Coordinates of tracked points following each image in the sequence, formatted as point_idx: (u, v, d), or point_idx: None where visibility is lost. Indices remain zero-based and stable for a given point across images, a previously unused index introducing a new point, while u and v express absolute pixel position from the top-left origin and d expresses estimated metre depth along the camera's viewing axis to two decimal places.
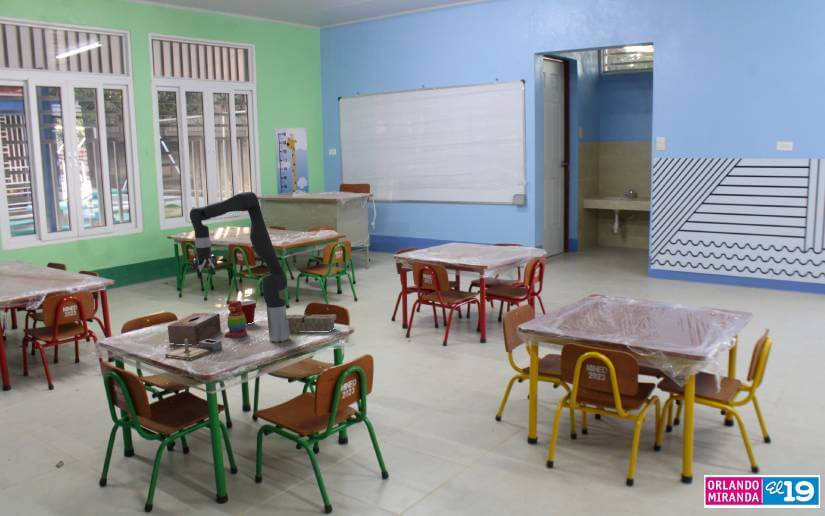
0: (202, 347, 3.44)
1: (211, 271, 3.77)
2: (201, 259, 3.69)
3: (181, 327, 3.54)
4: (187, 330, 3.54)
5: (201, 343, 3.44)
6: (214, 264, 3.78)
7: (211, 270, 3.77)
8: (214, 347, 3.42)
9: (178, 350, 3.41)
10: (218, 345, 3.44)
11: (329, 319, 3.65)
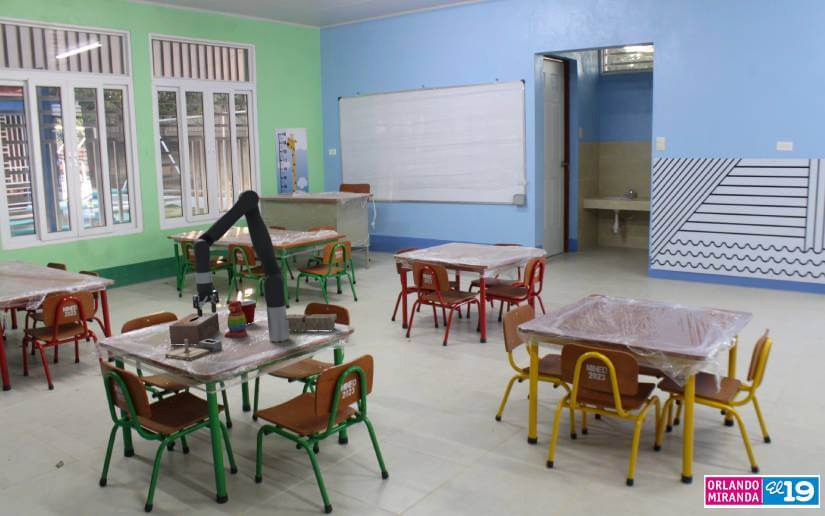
0: (202, 347, 3.44)
1: (213, 308, 3.48)
2: (202, 296, 3.40)
3: (183, 327, 3.54)
4: (189, 330, 3.54)
5: (201, 343, 3.44)
6: (216, 300, 3.48)
7: (213, 307, 3.48)
8: (214, 347, 3.42)
9: (178, 350, 3.41)
10: (218, 345, 3.44)
11: (330, 319, 3.66)
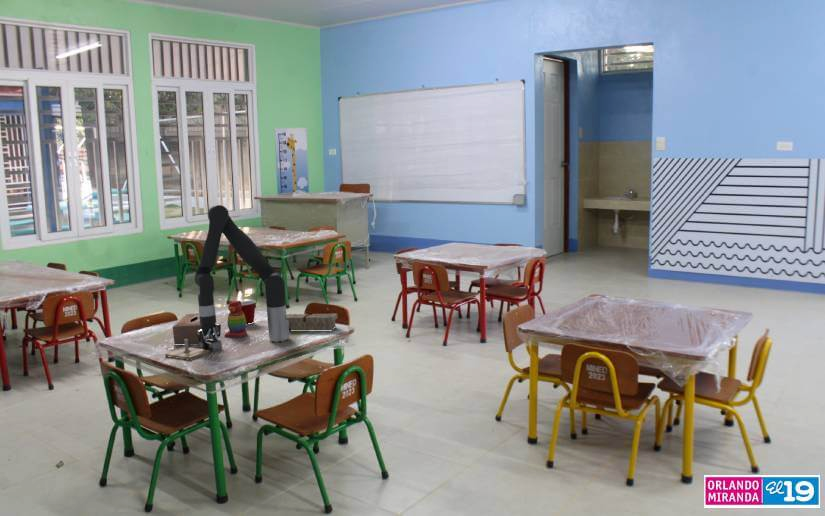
0: (202, 347, 3.44)
1: None
2: (205, 329, 3.41)
3: (188, 327, 3.54)
4: (194, 329, 3.54)
5: (201, 343, 3.44)
6: (218, 334, 3.49)
7: None
8: (214, 347, 3.42)
9: (178, 350, 3.41)
10: (218, 345, 3.44)
11: (331, 318, 3.67)
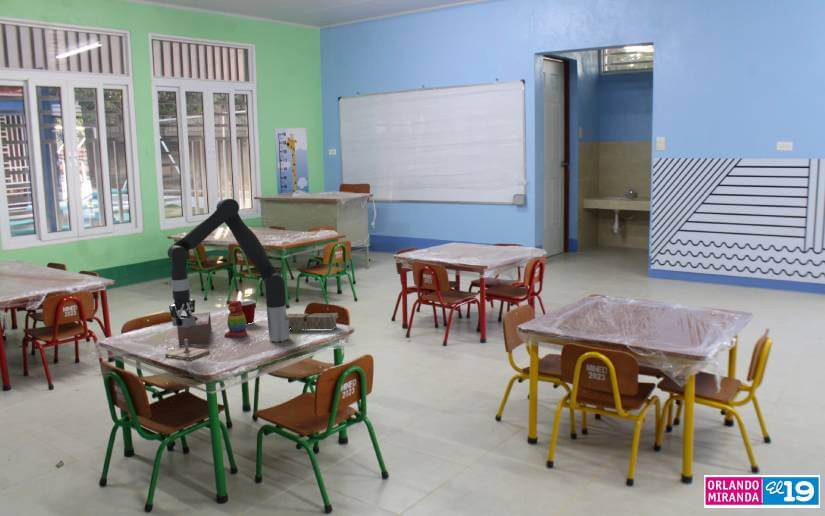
0: (175, 323, 3.35)
1: None
2: (178, 304, 3.31)
3: (193, 326, 3.54)
4: (199, 328, 3.55)
5: (174, 319, 3.34)
6: (192, 310, 3.39)
7: None
8: (187, 322, 3.32)
9: (178, 350, 3.41)
10: (192, 320, 3.34)
11: (332, 317, 3.68)
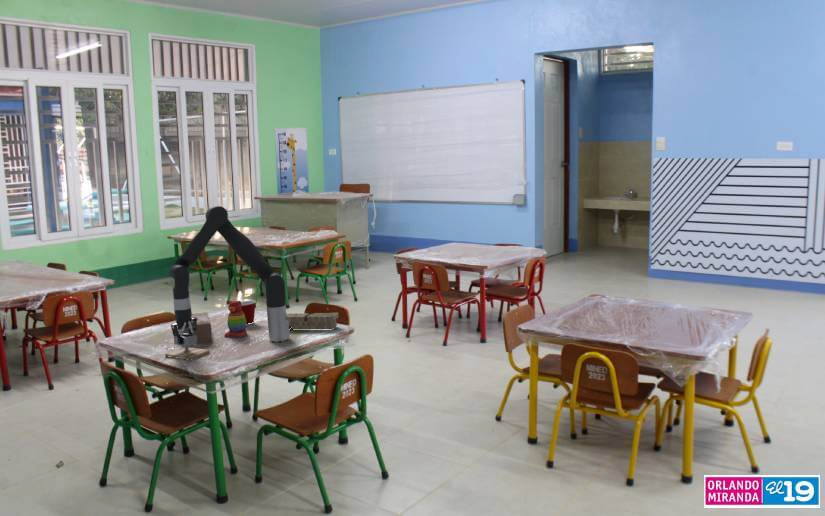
0: (177, 342, 3.36)
1: None
2: (180, 322, 3.33)
3: None
4: (202, 328, 3.56)
5: (176, 337, 3.36)
6: (193, 328, 3.40)
7: None
8: (189, 341, 3.33)
9: (178, 350, 3.41)
10: (193, 339, 3.36)
11: (332, 317, 3.68)
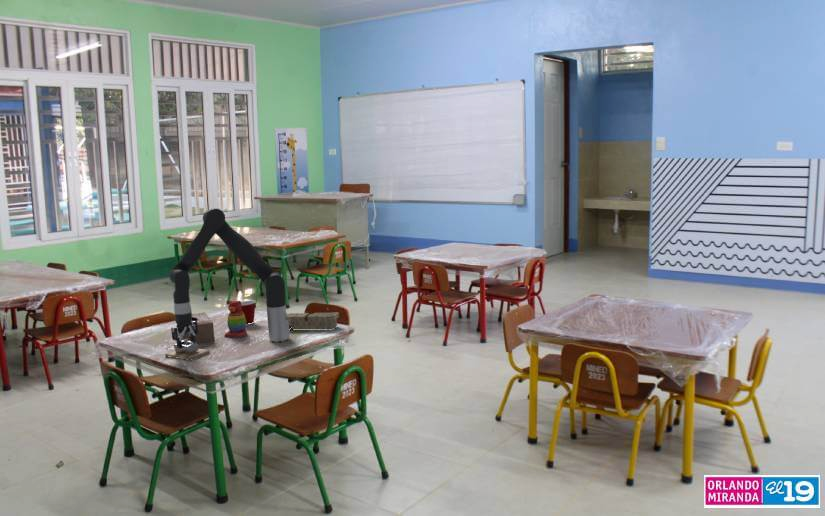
0: (178, 350, 3.37)
1: (192, 339, 3.40)
2: (181, 327, 3.33)
3: (198, 326, 3.55)
4: (205, 327, 3.57)
5: (176, 346, 3.36)
6: (195, 331, 3.41)
7: (192, 338, 3.40)
8: (190, 349, 3.34)
9: None
10: (194, 347, 3.36)
11: (333, 317, 3.69)
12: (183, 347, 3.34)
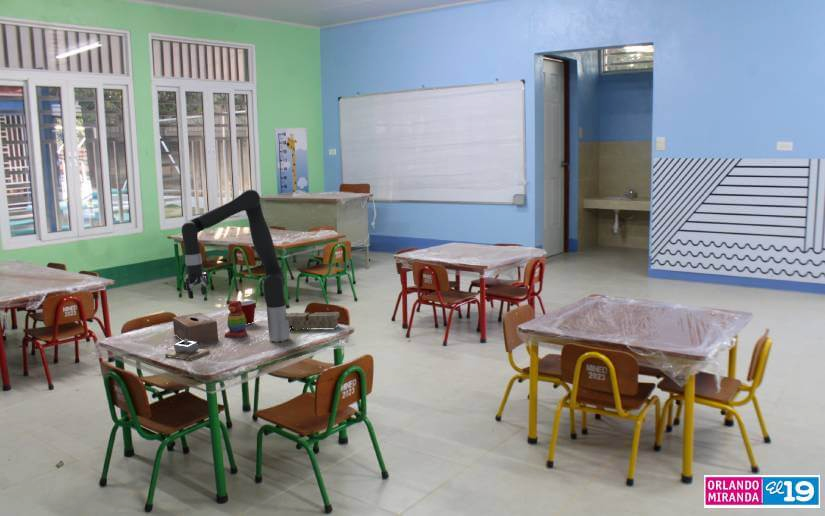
0: (178, 350, 3.37)
1: (203, 290, 3.50)
2: (192, 278, 3.42)
3: (203, 325, 3.56)
4: (209, 326, 3.58)
5: (176, 346, 3.36)
6: (206, 282, 3.51)
7: (203, 289, 3.50)
8: (190, 349, 3.34)
9: None
10: (194, 347, 3.36)
11: (333, 316, 3.70)
12: (183, 347, 3.34)
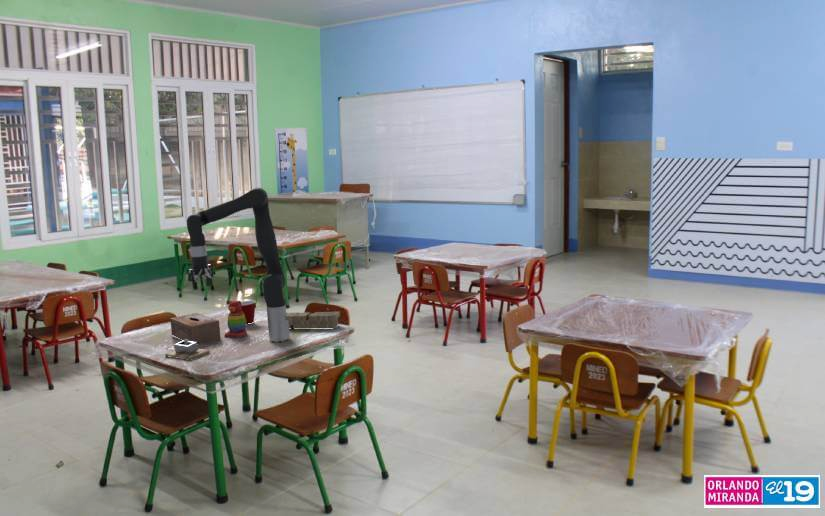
0: (178, 350, 3.37)
1: (207, 281, 3.55)
2: (197, 269, 3.47)
3: (206, 324, 3.57)
4: (211, 326, 3.59)
5: (176, 346, 3.36)
6: (211, 274, 3.55)
7: (207, 280, 3.54)
8: (190, 349, 3.34)
9: None
10: (194, 347, 3.36)
11: (334, 316, 3.71)
12: (183, 347, 3.34)
